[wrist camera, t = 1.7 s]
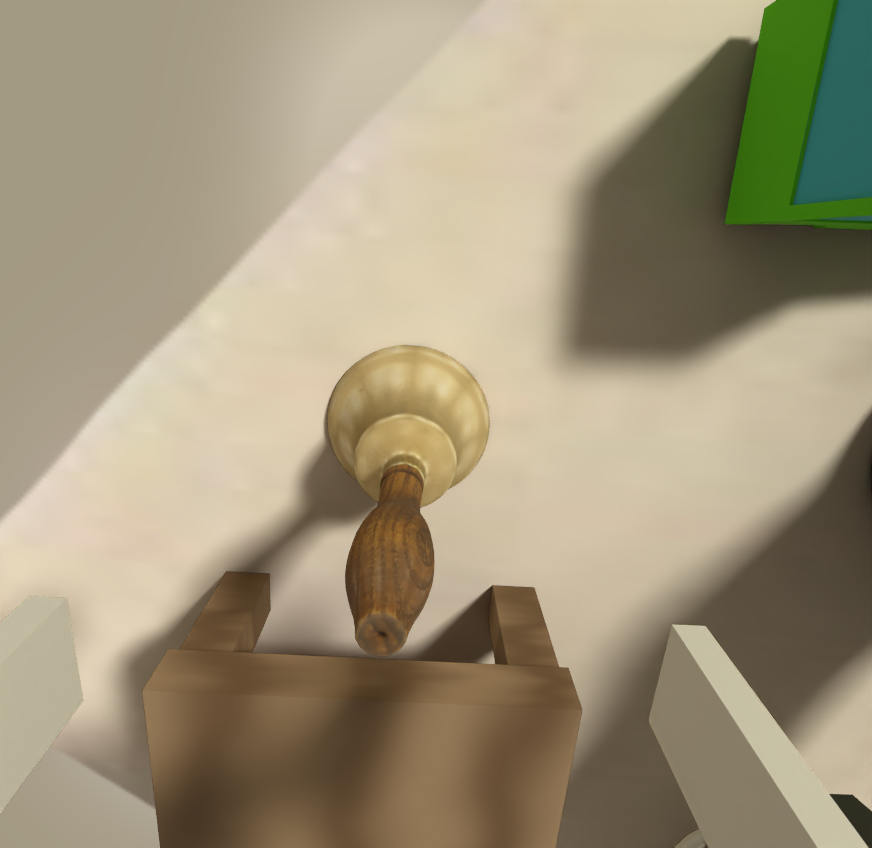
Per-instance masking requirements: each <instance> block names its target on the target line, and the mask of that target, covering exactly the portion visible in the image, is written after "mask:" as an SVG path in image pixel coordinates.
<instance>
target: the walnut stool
mask: <svg viewBox="0 0 872 848" xmlns="http://www.w3.org/2000/svg"><path fill="white" fill-rule="evenodd" d="M270 610H271V609H270V574H265V573H246V572H227V571H226V573H225V575H224V576H223V578H222V580H221V581H220V583H219V584H218V586H217V588H216V589H215V591H214V593H213V594H212V596H211V598H210V599H209V601H208V603H207V604H206V606H205V608H204V609H203V611H202V612H201V614H200V616H199V617H198V619H197V621H196V622H195V624H194V626H193V627H192V629H191V631H190V632H189V634H188V635H187V637H186V639H185V640H184V642H183V644H182V645H181V647H180V649H179V650H178V649H168V650H167V652H166V654H165V655H164V657H163V658H162V660H161V661H160V663H159V665H158V666H157V668H156V669H155V671H154V672H153V674H152V676H151V677H150V679H149V680H148V682H147V684H146V685H145V687H144V688H143V690H142V694H143V703H144V711H145V720H146V729H147V737H148V746H149V755H150V763H151V772H152V780H153V789H154V798H155V806H156V815H157V823H158V832H159V841H160V848H556V843H557V837H558V832H559V827H560V822H561V817H562V812H563V807H564V802H565V796H566V791H567V786H568V781H569V776H570V771H571V766H572V760H573V755H574V750H575V745H576V740H577V735H578V730H579V724H580V719H581V714H582V707H581V704H580V701H579V698H578V695H577V692H576V689H575V686H574V683H573V680H572V677H571V674H570V671H569V668H562V667H559V665H558V662H557V659H556V656H555V652H554V649H553V646H552V643H551V640H550V636H549V633H548V630H547V627H546V624H545V620H544V617H543V614H542V611H541V608H540V604H539V601H538V598H537V595H536V591H535V588H532V587H513V586H494V585H493V586H492V594H491V603H490V611H489V619H488V622H489V628H490V634H491V640H492V646H493V652H494V658H495V664H476V663H455V662H434V661H412V660H391V659H370V658H348V657H327V656H306V655H285V654H263V653H252V652H253V650H254V648H255V645H256V643H257V641H258V638H259V636H260V633H261V631H262V629H263V626H264V624H265V622H266V619H267V617H268V615H269V612H270Z"/></svg>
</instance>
